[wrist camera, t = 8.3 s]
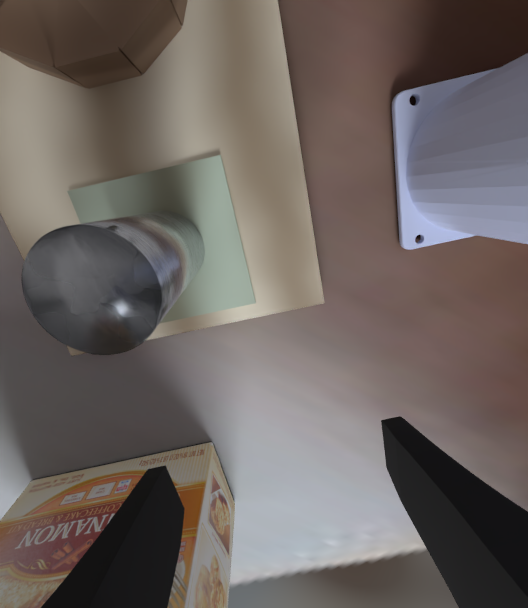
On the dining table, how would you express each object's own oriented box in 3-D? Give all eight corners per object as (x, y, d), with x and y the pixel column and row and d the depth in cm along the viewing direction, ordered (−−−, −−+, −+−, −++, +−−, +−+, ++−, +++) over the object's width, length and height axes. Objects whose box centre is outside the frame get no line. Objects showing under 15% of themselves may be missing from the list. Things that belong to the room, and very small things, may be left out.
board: (224, -317, 11) (211, -540, 8) (320, 297, 19) (334, 319, 16) (-179, -192, 12) (-353, -347, 8) (80, 348, 20) (45, 379, 16)
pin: (193, 203, 16) (135, 211, 8) (213, 276, 17) (179, 341, 9) (119, 219, 16) (-5, 241, 8) (144, 290, 17) (58, 365, 10)
